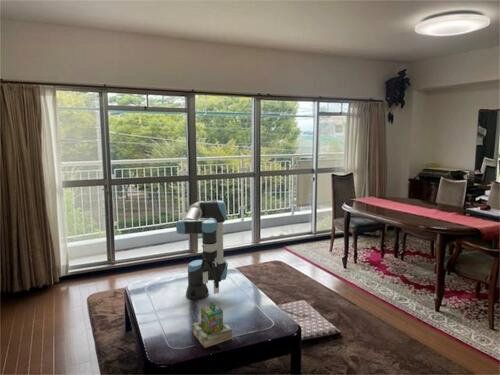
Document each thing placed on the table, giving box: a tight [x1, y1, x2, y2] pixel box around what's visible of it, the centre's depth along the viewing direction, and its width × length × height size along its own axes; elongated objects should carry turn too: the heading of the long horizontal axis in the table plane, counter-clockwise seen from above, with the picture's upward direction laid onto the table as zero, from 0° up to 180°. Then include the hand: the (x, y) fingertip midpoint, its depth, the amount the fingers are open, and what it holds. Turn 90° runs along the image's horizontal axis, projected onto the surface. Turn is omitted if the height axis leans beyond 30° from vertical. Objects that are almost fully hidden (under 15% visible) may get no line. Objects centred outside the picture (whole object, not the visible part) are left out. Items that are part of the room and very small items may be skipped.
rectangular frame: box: [192, 320, 233, 349], centre depth 196 cm, size 16×16×6 cm
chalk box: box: [200, 301, 224, 335], centre depth 195 cm, size 9×9×15 cm
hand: (210, 288), depth 192 cm, fingers open, 13 cm apart
